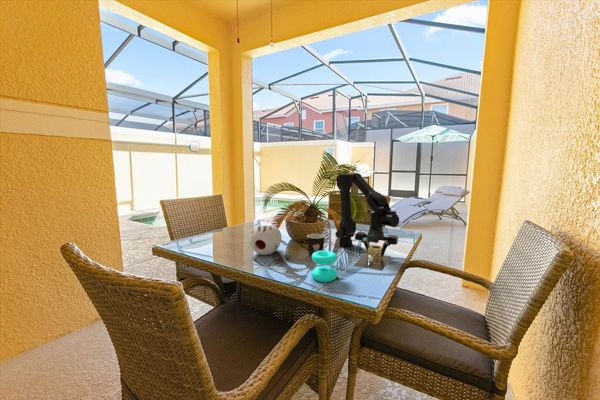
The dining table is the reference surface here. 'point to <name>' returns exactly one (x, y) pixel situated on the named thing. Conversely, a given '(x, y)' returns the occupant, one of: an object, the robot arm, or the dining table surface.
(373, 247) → the brass collar
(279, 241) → the decorative object
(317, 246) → the coffee mug
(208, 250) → the dining table surface
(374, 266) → the base plate
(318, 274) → the donuts
